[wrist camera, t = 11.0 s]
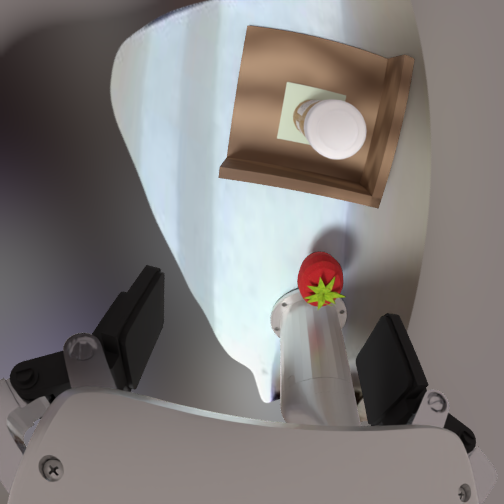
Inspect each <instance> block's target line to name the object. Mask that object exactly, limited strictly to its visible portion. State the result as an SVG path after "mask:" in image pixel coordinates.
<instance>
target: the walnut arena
mask: <svg viewBox="0 0 504 504" xmlns="http://www.w3.org/2000/svg"><path fill="white" fill-rule="evenodd" d="M413 65H414V58H412V57H409V56H407V55H401V56H397V57H393V58H389V59H387V58H384V57H381V56H379V55H376V54H373V53H370V52H367V51H364V50H361V49H358V48H355V47H352V46H348V45H345V44H341V43H338V42H334V41H330V40H326V39H322V38H318V37H314V36H309V35H305V34H300V33H295V32H289V31H283V30H277V29H271V28H263V27H255V26H247V31H246V37H245V42H244V48H243V54H242V60H241V66H240V72H239V78H238V84H237V90H236V97H235V103H234V110H233V117H232V124H231V131H230V138H229V145H228V153H227V158H226V159H225V161H224V162H223V163H222V165H221V166H220V170H219V178H224V179H231V180H237V181H244V182H250V183H256V184H262V185H268V186H274V187H280V188H285V189H291V190H296V191H301V192H306V193H311V194H316V195H321V196H326V197H331V198H335V199H340V200H345V201H349V202H353V203H358V204H362V205H366V206H370V207H375V208H379V205H380V202H381V199H382V196H383V192H384V189H385V186H386V183H387V179H388V176H389V172H390V169H391V165H392V162H393V158H394V154H395V151H396V147H397V143H398V139H399V135H400V131H401V127H402V122H403V118H404V113H405V109H406V104H407V99H408V94H409V89H410V83H411V78H412V72H413ZM287 82H290V83H295V84H300V85H305V86H310V87H314V88H318V89H323V90H327V91H331V92H335V93H338V94H342V95H346V100H345V102H347V103H350V104H351V105H353V106H354V107H355V108H356V109H358V111H359V112H360V113H361V114H362V116H363V118H364V121H365V124H366V139H365V141H364V144H363V146H362V147H361V148H360V150H359V151H358V152H357V153H355V154H354V155H353V156H351V157H348V158H345V159H330V158H327V157H324V156H323V155H321V154H319V153H318V152H317V151H316V150H315V149H314V148H313V147H312V146H311V145H308V144H303V143H298V142H293V141H288V140H283V139H277V135H278V129H279V124H280V118H281V113H282V107H283V101H284V96H285V90H286V85H287Z"/></svg>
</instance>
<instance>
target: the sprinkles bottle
mask: <svg viewBox="0 0 504 504" xmlns="http://www.w3.org/2000/svg"><path fill="white" fill-rule="evenodd" d="M293 122H294V124H295V127H296V128H297V130H298V131H300V132H301V133H302V134H303V135H304V136H305V137H306V139H307V141H308V142H309V144H310V145H311V146H312V147H313V148H314V149H315V150H316V151H317V152H318V153H319V154H321V155H323V156H324V157H327V158H330V159H345V158H348V157H351V156H353V155H354V154H355V153H357V152H358V151H359V150H360V148H361V147H362V146H363V144H364V141H365V139H366V124H365V121H364V118H363V116H362V114H361V113H360V112H359V111H358V109H356V108H355V107H354V106H353V105H351V104H350V103H347V102H345V101H341V100H335V99H328V100H306V101H303V102H302V103H300V104H299V105H298V106H297V107H296V108H295V111H294V113H293Z"/></svg>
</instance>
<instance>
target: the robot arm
mask: <svg viewBox="0 0 504 504" xmlns="http://www.w3.org/2000/svg"><path fill="white" fill-rule="evenodd" d="M334 301H335V303H336V304H334V303H330V305H333V306H330V305H326V306H322V307H321V308H320V309H319V310H318V307H317V306H312V305H310V304H308V303H307V302H306V301H305V300H304V299H303V297H302V296H301V293H300V291H299V289H297V290H294V291H292V292H289V293H287V294H286V295H284V296H283V297H282V298H280V299H279V300H278V301H277V302H276V304H275V305H274V307H273V309H272V312H271V326H272V329H273V331H274V333H275V334H276V335H277V336H278V337H279V338H280V401H281V403H280V405H281V413H282V416H283V418H284V420H285V422H286V423H282V422H273V421H265V420H257V419H250V418H244V417H236V416H231V415H225V414H220V413H215V412H210V411H205V410H201V409H196V408H192V407H187V406H183V405H179V404H175V403H171V402H167V401H163V400H159V399H155V398H152V397H148V396H144V395H140V394H136V393H132V392H131V389H136V388H137V385H138V383H139V381H140V379H141V376H142V374H143V371H144V369H145V367H146V364H147V362H148V359H149V357H150V355H151V353H152V350H153V348H154V346H155V344H156V341H157V339H158V337H159V335H160V332H161V330H162V328H163V323H164V273H162V272H161V270H160V268H157V267H152V266H148V265H146V267H145V268H144V269H143V271H142V272H141V273H140V275H139V276H138V278H137V279H136V281H135V282H134V283H133V285H132V286H131V288H130V289H129V290H128V292H121V293H120V294H119V295H118V297H117V298H116V300H115V301H114V302H113V304H112V305H111V307H110V308H109V310H108V311H107V313H106V314H105V315H104V317H103V318H102V320H101V321H100V323H99V324H98V326H97V327H96V329H95V331H94V332H93V333H92V334H89V333H78V334H75V335H73V336H71V337H69V338H68V339H67V341H66V342H65V344H64V346H63V351H60V352H57V353H53V354H49V355H46V356H42V357H39V358H35V359H31V360H27V361H23V362H21V363H18V364H17V365H16V366H15V367H14V368H13V369H12V371H11V374H10V378H9V379H7V380H5V379H4V378H3V379H1V380H0V481H1V482H2V484H3V486H4V487H5V489H6V490H7V492H8V493H9V495H10V496H9V499H8V503H7V504H482V503H483V502H484V500H485V499H486V497H487V496H488V494H489V493H490V491H491V490H492V488H493V487H494V485H495V483H496V481H497V471H496V469H495V468H494V466H493V465H492V464H491V463H490V461H489V460H488V458H487V457H486V456H485V455H484V453H483V452H482V451H481V450H480V448H479V447H476V448H475V444H476V438H475V436H474V434H473V432H472V431H471V430H470V429H469V428H468V427H466V426H465V425H464V424H463V423H461V422H460V421H458V420H457V419H456V418H455V417H453V416H452V415H451V414H449V413H448V412H449V401H448V399H447V398H446V396H445V395H444V394H443V393H442V392H440V391H438V390H436V389H430V390H428V391H427V390H426V387H427V386H428V382H427V380H426V377H425V375H424V372H423V370H422V367H421V365H420V362H419V360H418V357H417V355H416V352H415V350H414V348H413V345H412V343H411V341H410V339H409V336H408V334H407V332H406V329H405V327H404V325H403V323H402V321H401V319H400V317H399V315H395V314H389V313H387V314H385V315H384V316H382V317H381V318H380V320H379V321H378V323H377V325H376V326H375V328H374V330H373V331H372V333H371V335H370V336H369V338H368V340H367V341H366V343H365V345H364V346H363V348H362V349H361V351H360V352H359V354H358V356H357V358H356V366H357V371H358V375H359V380H360V384H361V389H362V394H363V399H364V404H365V409H366V414H367V420H368V423H369V424H371V426H361V423H360V419H359V415H358V410H357V405H356V399H355V394H354V389H353V383H352V378H351V373H350V368H349V363H348V358H347V353H346V348H345V344H344V339H343V335H342V330H341V329H342V328H343V326H344V325H345V322H346V320H347V310H346V306H345V303H344V302H343V300H342V298H336V300H334ZM317 310H318V311H317ZM39 418H40V419H41V420H40V421H39V423H38V425H37V427H36V429H35V431H34V433H33V435H32V437H31V439H30V441H29V443H28V445H27V448H26V445H25V444H24V434H25V432H26V431H27V430H28V429H29V428H30V427H32V426H33V425H34V423H33V422H35V421H36V420H38V419H39Z"/></svg>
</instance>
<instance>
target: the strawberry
mask: <svg viewBox="0 0 504 504" xmlns="http://www.w3.org/2000/svg"><path fill="white" fill-rule="evenodd" d="M297 283H298V288H299V291H300V293H301V296H302V297H303V299H304V300H305V301H306V302H307V303H308V304H310V305H312V306H317V307H318V310H319V309H320V308H321V307H322V306H326V305H330V303H334V304H336V303H335V301H334V300H336V298H343V297H346V296H344V295H342V294H340V293H341V290H342V287H343V272H342V268H341V266H340V264H339V263H338V262H337V261H336V260H335V259H334V258H333V257H332V256H331V255H330V254H328V253H326V252H315V253H312V254H310V255H309V256H307V257H306V258H305V260H304V261H303V262H302V265H301V267H300V270H299V274H298V280H297ZM330 306H333V305H330ZM318 310H317V311H318Z"/></svg>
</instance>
